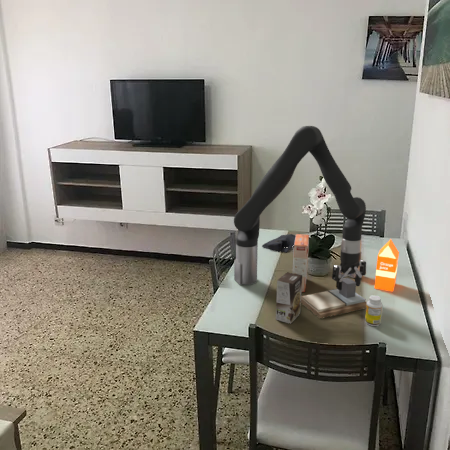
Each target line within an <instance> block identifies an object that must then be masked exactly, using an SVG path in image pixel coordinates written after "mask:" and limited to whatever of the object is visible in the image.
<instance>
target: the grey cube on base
mask: <svg viewBox="0 0 450 450" xmlns="http://www.w3.org/2000/svg"><path fill="white" fill-rule="evenodd" d="M356 288H357V286H356V282H355V280H353V279H351V277H345V278H344V279H343V280H342V290H338V289H337V288H333V289H334V290H333V289H329V291H330V292H331V293H332V294H334V295H335V296H337V297H338V298H339V299H341V300H342V301H344V302H345V303H346V305H347V306H348V305H352V304H356V303H361V302H366V298H365V297H363V296H362V295H360V294H358V293H357V292H356V290H357V289H356Z"/></svg>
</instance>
